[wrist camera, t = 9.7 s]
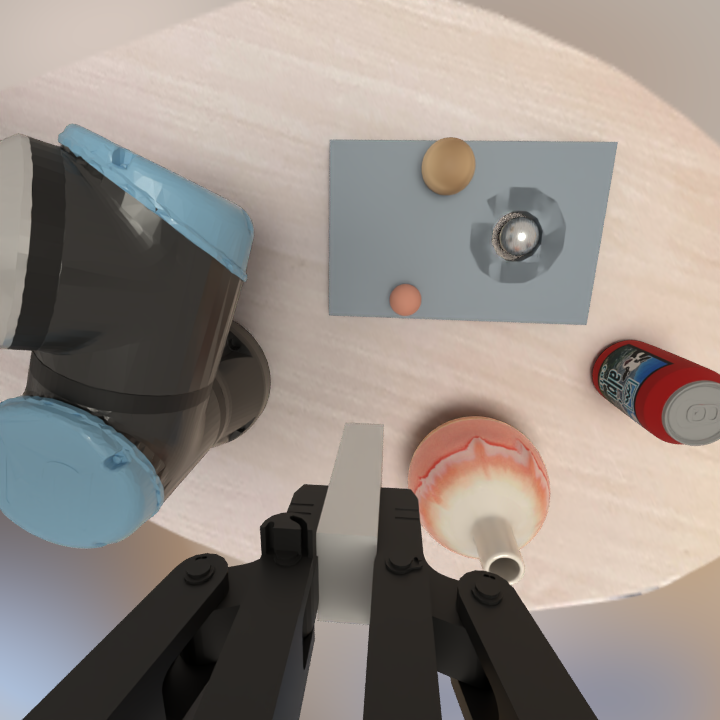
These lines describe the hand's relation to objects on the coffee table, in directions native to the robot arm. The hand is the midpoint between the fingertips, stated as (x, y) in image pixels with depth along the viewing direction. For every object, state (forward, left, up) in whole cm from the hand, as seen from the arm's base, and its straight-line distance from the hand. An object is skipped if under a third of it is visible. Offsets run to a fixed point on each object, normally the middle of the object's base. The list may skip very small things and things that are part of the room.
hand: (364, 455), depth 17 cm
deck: (+7, +9, -29) cm, 31 cm away
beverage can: (+25, -4, -30) cm, 39 cm away
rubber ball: (+2, +3, -25) cm, 26 cm away
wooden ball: (+5, +14, -25) cm, 29 cm away
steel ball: (+12, +9, -28) cm, 32 cm away
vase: (+10, -15, -30) cm, 35 cm away
